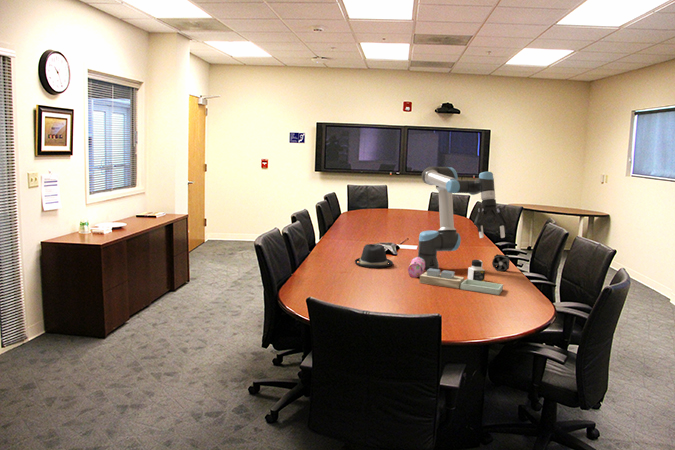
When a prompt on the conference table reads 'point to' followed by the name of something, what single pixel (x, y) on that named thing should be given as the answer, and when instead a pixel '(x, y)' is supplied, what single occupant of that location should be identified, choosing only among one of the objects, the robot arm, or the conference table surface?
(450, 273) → the tile front
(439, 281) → the wooden block
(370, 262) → the fedora
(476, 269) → the medicine bottle
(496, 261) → the cpu cooler
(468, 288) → the tray
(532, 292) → the conference table surface
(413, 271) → the pencil case
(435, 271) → the tile rear
